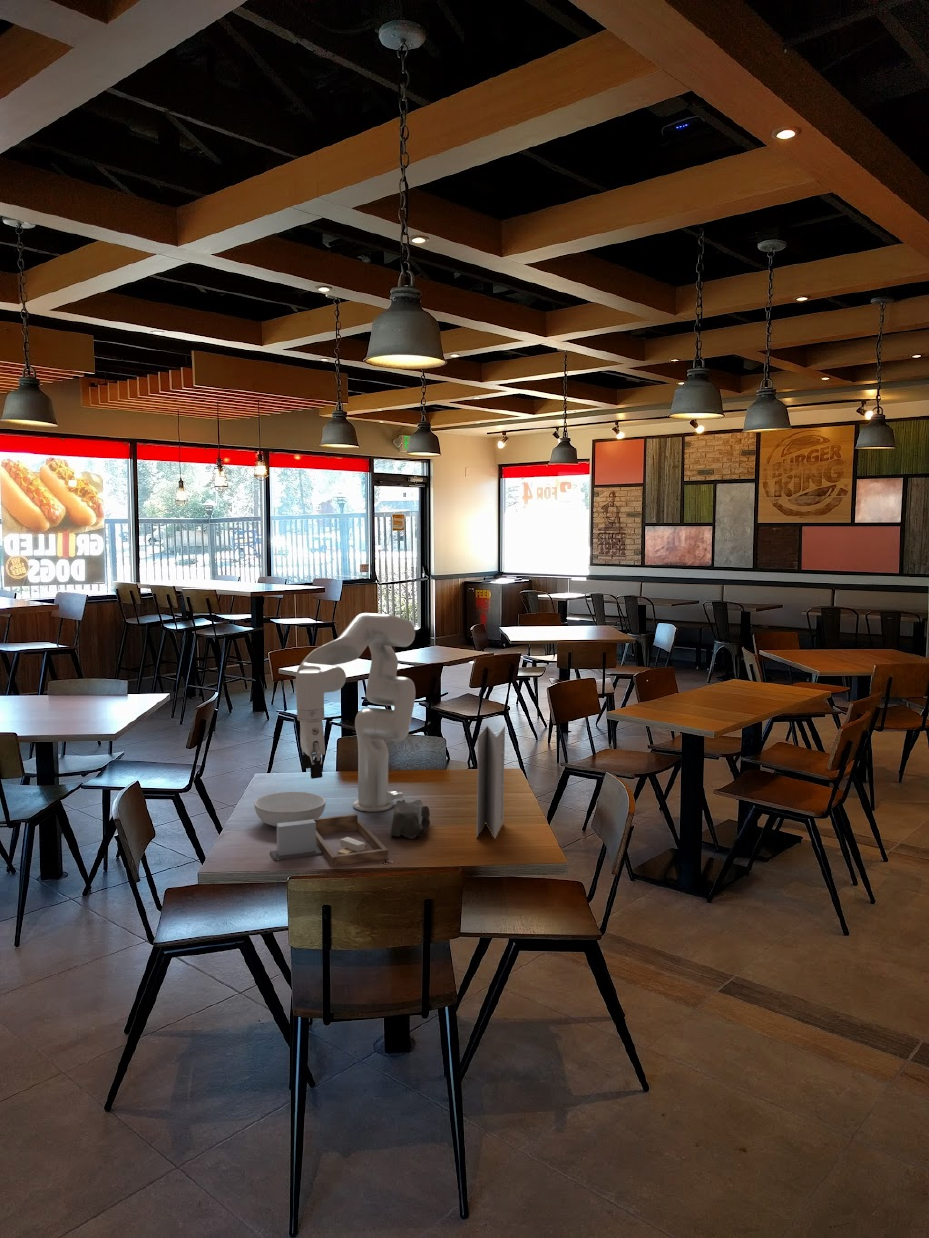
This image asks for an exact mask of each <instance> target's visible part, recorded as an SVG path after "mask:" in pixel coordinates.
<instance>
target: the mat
mask: <svg viewBox="0 0 929 1238" xmlns="http://www.w3.org/2000/svg"><path fill="white" fill-rule="evenodd" d="M269 854H270V856H271V855H272V856H271V858H272V857H273V858H274V859H273V858H272V859H273V861H274V860H277V859H285V860H291V859H292V858H293V859H299V858H308V857H313V856H314V857H316V856H321V855H323V853H322V851H321V850H320V849H319V847H318V846H317V845H316V851H313V852H305V853H298V854H290V855H282V856H279V855H278V853H277V849H276V850H270V851H269ZM290 858H291V859H290ZM277 861H278V860H277Z"/></svg>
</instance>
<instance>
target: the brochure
mask: <svg viewBox="0 0 929 1238" xmlns="http://www.w3.org/2000/svg"><path fill="white" fill-rule="evenodd" d="M505 736H506V726H503V727H502V729H501V730H500V731H499V733H498V734H497V735H496V734H495V733H494V732H493V730H492V729H491V727H489V725H486V726H485V727H484V728H483V730H481V732H480V733H479V734H478V735H477V768H476V769H477V774H476V775H477V777H476V778H477V783H476V833H475V834H476V836H475V837H478V835H479V833H480V831H481V829H482V828H483V826H484V824H485V822H486V823H487V825H488V827H489V829H490V830H491V832H492V834H493V836H494V838H496V836H497V834H498V831H499V829H500V828H501V825H502V823H503V824H504V804H505V803H504V801H505V800H504V797H505V796H504V795H505V794H504V793H505V789H504V788H505V746H506V745H505V743H506V742H505V741H506V738H505ZM485 825H486V824H485ZM484 827H485V826H484ZM488 827H487V828H488ZM483 829H484V828H483ZM489 829H488V830H489ZM501 829H502V828H501ZM481 832H482V831H481ZM480 834H481V833H480ZM498 835H499V834H498ZM479 836H480V835H479ZM497 837H498V836H497ZM478 838H479V837H478ZM496 839H497V838H496Z"/></svg>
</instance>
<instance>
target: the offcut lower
mask: <svg viewBox="0 0 929 1238" xmlns="http://www.w3.org/2000/svg"><path fill="white" fill-rule="evenodd" d="M363 851H368V843H365V850H362V851H359V852H363ZM356 852H357V851H354V850H351V849H348V848H346V847H343V848H342V849H340V850H338V851H337V855H340V854H348V853H356Z"/></svg>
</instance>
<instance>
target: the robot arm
mask: <svg viewBox="0 0 929 1238" xmlns="http://www.w3.org/2000/svg"><path fill="white" fill-rule="evenodd" d="M415 637H416V628H415V626H414V625H413V623H412V622H411V621H410V620H408V619H405V618H402V617H398V616H397V615H394V614H387V613H373V612H362V613H359V614H357V615H355V617H354V618H353V619H352V620H351V621H350V623H349V624H348V625H347V626H346V627H345V629H344V630H343V631H342V632H341V634H339V635H338V637H337V638H336V639H333V640H331V641H330V642H327V643H325V644H323V645H321V646H319V647H317V648H315V649H313V650H312V651H311V652H309V654H308V655H306V656H305V658H304V659H303V660H302V661H301V663H300V664H299V667H297V671H296V674H295V688H296V689H295V692H296V694H295V695H296V719H297V721H298V722H299V725H300V727H299V728H300V729H299V730H300V731H299V738H300V739H299V740H300V749H301V753H302V755H301V764H302V765H301V766H302V769H303V770H306V769H310V779H312V780H314V779H319V778H323V758H322V756H324V755H325V754H326V745H325V733H324V731H325V730H324V724H323V720H325V700H324V699H325V698H324V697H325V693H331V692H332V693H333V692H337V691H339V690H341V689H342V688H343V687H344V685H345V684H346V681H347V675H346V672H345V671H344V669H343V668H342V667H340V666H338V665H342V664H346V663H349V662H350V663H351V662H353V661H356V660H357V659H359V658H360V656H362V654H363V652H364V651H365V650H366V649H367V647H368V648H369V652H370V655H371V656H370V657H371V663H370V669H369V674H368V680H367V683H366V684H367V686H366V691H365V696H366V699H367V701H368V702H370V703H372V704H375V705H380V706H381V705H382V706H390V707H393V709H387V708H378V707H377V708H376V707H366V708H362V709H361V710H359V711H358V712H357V714H356V716H355V718H354V719H355V720H354V727H355V732H356V738H357V747H358V748H357V751H358V753H357V755H358V757H357V758H358V759H357V760H358V762H357V763H358V765H357V766H358V767H357V768H358V769H357V770H358V771H357V773H358V775H357V782H358V783H357V790H358V791H357V792H358V793H357V795H358V796H357V799H356V800H353V805H352V806H353V808H355V809H356V810H358V811H361V812H370V813H371V812H382V811H388V810H389V809H391V808H392V807H393V806H394V800H398V799H399V800H400V799H403V797H404V795H403V792H397V791H390V790H389V750H388V747H387V744H386V742H385V741H390V742H391V741H392V742H402V741H404V740H405V739H406V738H407V737H408V735H409V731H410V727H411V723H412V717H413V712H414V708H415V707H414V706H415V701H416V694H417V693H416V686H415V682H414V681H413V680H412V679H411V678H409V677H406V676H401V675H400V676H398V675H397V672H398V665H399V660H398V656H397V655H396V652H395V650H394V649H393V647H398V648H399V647H401V648H407V647H409V646H410V645H411V644H413V642H414V640H415Z"/></svg>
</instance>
